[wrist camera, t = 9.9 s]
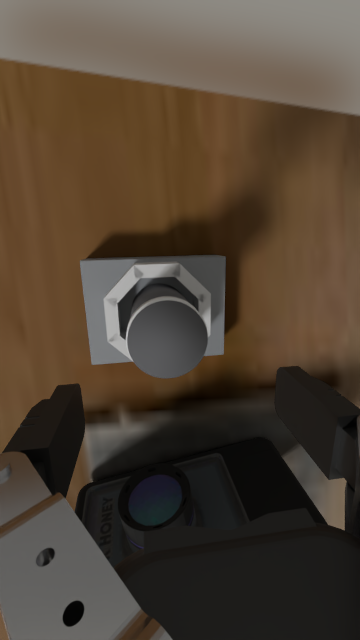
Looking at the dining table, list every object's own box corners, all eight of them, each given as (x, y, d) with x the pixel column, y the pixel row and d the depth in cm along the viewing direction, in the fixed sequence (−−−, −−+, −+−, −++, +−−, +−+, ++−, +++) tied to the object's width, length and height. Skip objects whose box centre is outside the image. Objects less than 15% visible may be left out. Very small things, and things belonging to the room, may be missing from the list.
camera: (269, 406, 33) (373, 536, 18) (272, 472, 35) (364, 630, 21) (71, 448, 30) (12, 634, 16) (91, 516, 33) (56, 725, 19)
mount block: (216, 254, 27) (233, 257, 22) (215, 343, 29) (230, 363, 24) (86, 258, 25) (74, 262, 20) (96, 351, 28) (88, 375, 23)
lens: (187, 281, 24) (210, 298, 16) (188, 336, 25) (208, 376, 18) (128, 283, 23) (122, 301, 16) (131, 340, 25) (128, 382, 17)
